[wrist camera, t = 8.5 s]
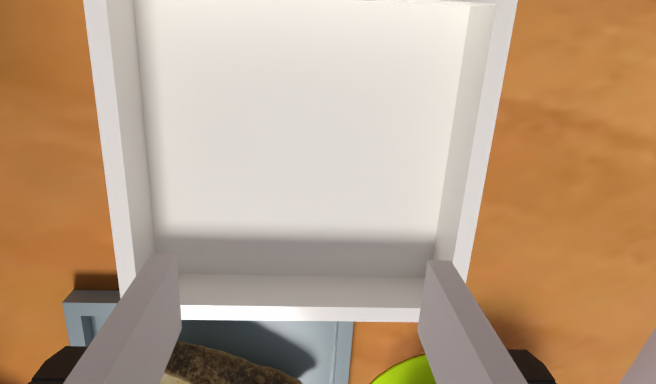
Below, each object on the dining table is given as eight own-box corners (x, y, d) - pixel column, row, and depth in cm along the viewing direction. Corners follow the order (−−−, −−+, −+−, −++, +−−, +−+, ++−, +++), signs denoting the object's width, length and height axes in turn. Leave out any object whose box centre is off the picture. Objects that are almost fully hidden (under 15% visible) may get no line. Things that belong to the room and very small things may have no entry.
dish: (147, 278, 30) (122, 318, 26) (117, -34, 24) (77, -48, 19) (437, 283, 32) (458, 322, 27) (484, -11, 25) (521, -18, 21)
